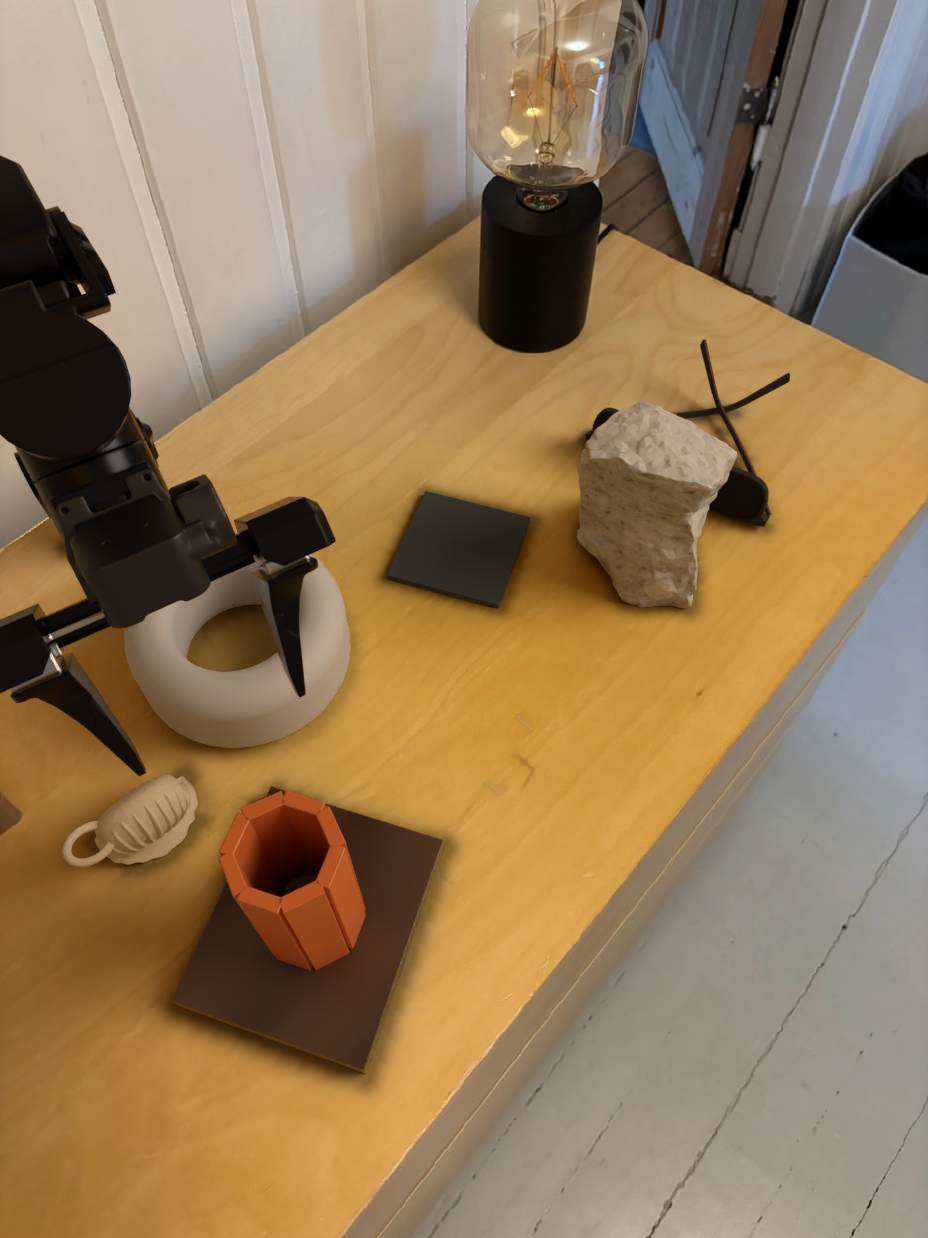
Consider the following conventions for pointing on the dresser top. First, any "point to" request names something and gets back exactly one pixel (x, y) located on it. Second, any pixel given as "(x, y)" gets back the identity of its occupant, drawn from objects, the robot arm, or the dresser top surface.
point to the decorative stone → (649, 501)
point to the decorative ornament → (140, 823)
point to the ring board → (342, 990)
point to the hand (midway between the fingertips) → (224, 733)
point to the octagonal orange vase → (276, 854)
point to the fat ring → (246, 698)
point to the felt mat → (460, 549)
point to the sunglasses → (742, 489)
